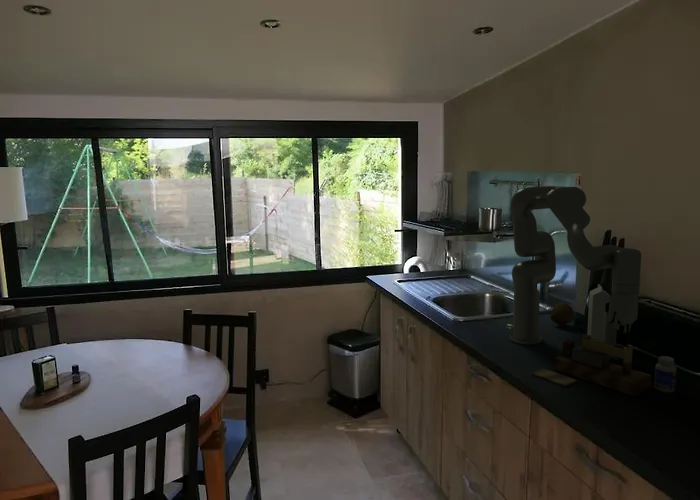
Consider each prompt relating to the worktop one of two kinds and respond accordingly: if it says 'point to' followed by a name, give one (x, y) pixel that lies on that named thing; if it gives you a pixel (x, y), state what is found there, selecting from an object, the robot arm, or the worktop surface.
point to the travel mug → (609, 332)
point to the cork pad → (554, 377)
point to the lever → (610, 351)
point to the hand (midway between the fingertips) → (622, 344)
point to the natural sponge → (562, 314)
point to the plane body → (603, 373)
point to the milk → (597, 312)
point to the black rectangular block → (590, 357)
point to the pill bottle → (665, 374)
